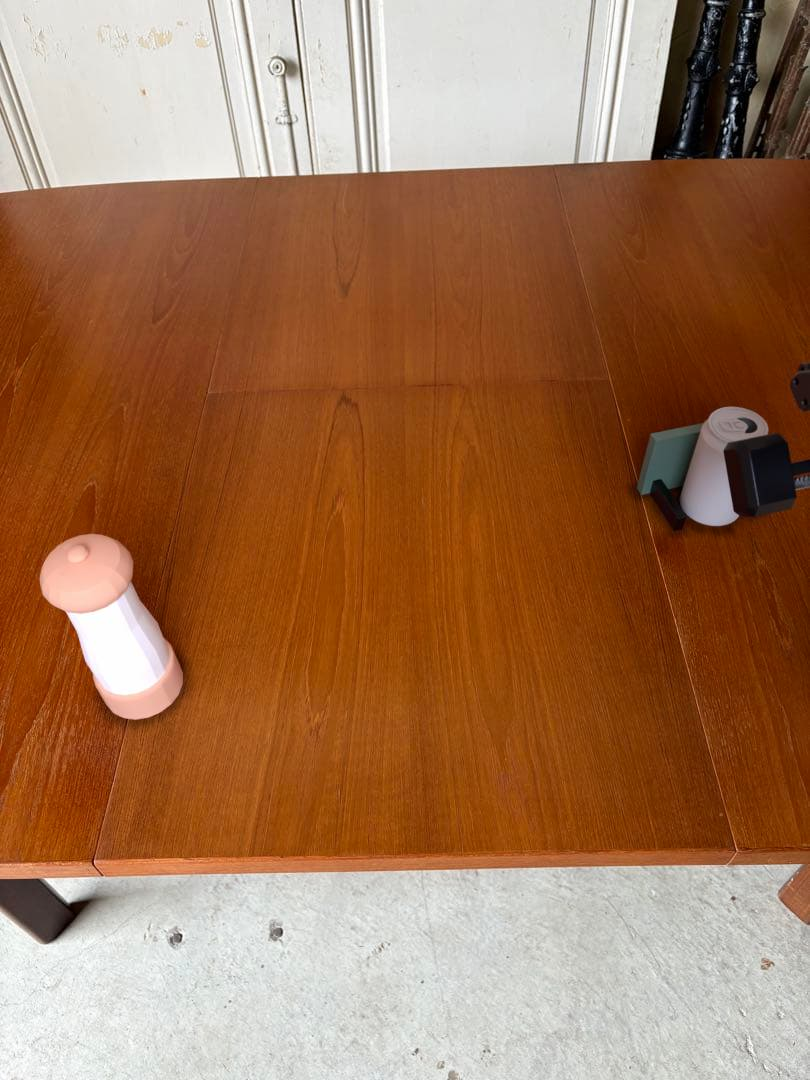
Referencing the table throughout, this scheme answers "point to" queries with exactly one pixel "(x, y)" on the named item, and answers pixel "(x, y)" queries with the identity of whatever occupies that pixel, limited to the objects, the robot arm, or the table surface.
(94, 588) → the pepper shaker
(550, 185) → the table surface
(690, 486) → the beverage can
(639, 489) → the rack bay
